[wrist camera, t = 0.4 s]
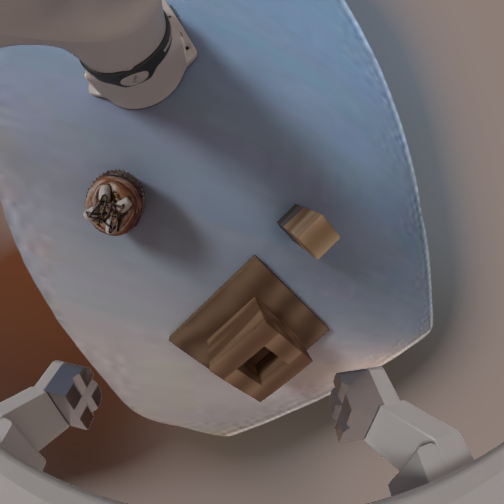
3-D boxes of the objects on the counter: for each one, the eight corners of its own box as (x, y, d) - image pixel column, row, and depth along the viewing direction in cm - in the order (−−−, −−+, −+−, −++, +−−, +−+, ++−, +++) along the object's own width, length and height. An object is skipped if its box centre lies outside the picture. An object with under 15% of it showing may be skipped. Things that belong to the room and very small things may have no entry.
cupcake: (159, 181, 42) (147, 184, 33) (138, 236, 44) (122, 253, 34) (108, 160, 39) (85, 159, 30) (89, 215, 41) (63, 227, 32)
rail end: (276, 222, 47) (298, 237, 37) (295, 204, 47) (321, 214, 37) (293, 240, 49) (317, 259, 38) (311, 222, 48) (340, 237, 38)
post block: (169, 336, 50) (165, 371, 40) (254, 254, 48) (268, 277, 38) (249, 390, 57) (258, 425, 47) (326, 326, 55) (349, 354, 45)
